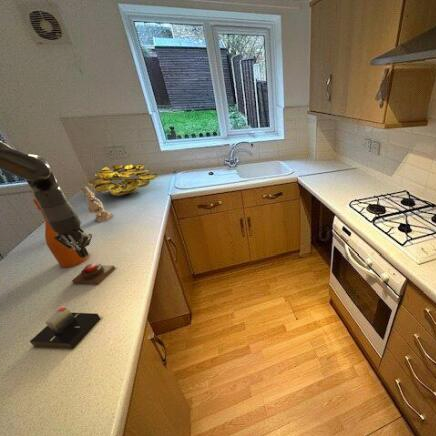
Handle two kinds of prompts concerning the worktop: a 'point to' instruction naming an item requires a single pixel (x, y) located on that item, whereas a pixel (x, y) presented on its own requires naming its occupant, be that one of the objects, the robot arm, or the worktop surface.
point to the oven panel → (67, 332)
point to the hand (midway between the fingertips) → (84, 256)
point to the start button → (90, 268)
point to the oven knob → (60, 320)
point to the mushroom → (118, 188)
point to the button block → (94, 275)
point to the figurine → (96, 206)
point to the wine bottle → (60, 247)
